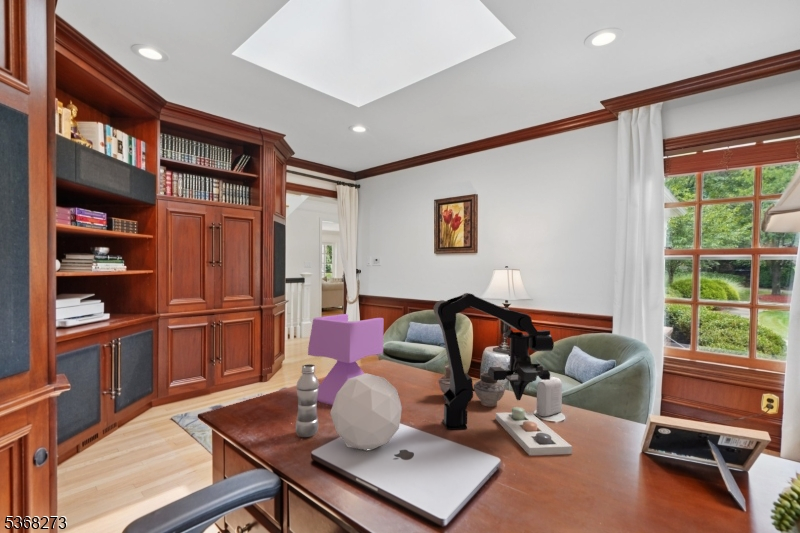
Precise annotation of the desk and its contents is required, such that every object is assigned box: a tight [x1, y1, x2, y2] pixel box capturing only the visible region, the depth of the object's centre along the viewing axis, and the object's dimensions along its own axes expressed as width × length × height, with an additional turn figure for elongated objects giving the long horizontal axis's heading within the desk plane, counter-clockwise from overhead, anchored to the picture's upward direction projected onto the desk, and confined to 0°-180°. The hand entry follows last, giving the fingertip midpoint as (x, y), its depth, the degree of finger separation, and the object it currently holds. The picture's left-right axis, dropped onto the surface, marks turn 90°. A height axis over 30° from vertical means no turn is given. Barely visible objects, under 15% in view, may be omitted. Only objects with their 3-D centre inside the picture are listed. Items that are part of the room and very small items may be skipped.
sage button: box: [511, 406, 526, 421], centre depth 117 cm, size 4×4×3 cm
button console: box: [495, 411, 573, 456], centre depth 109 cm, size 12×24×2 cm, turn 7°
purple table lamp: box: [307, 313, 385, 406], centre depth 137 cm, size 20×20×30 cm
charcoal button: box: [536, 433, 551, 445], centre depth 101 cm, size 4×4×3 cm
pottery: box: [437, 364, 506, 408], centre depth 137 cm, size 11×25×12 cm, turn 67°
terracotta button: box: [523, 421, 537, 432], centre depth 109 cm, size 4×4×3 cm
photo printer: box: [536, 376, 563, 417], centre depth 126 cm, size 10×4×12 cm, turn 123°
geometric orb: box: [329, 372, 403, 451], centre depth 100 cm, size 19×20×20 cm
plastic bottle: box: [294, 363, 320, 438], centre depth 105 cm, size 6×7×20 cm
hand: (518, 399), depth 117 cm, fingers closed
